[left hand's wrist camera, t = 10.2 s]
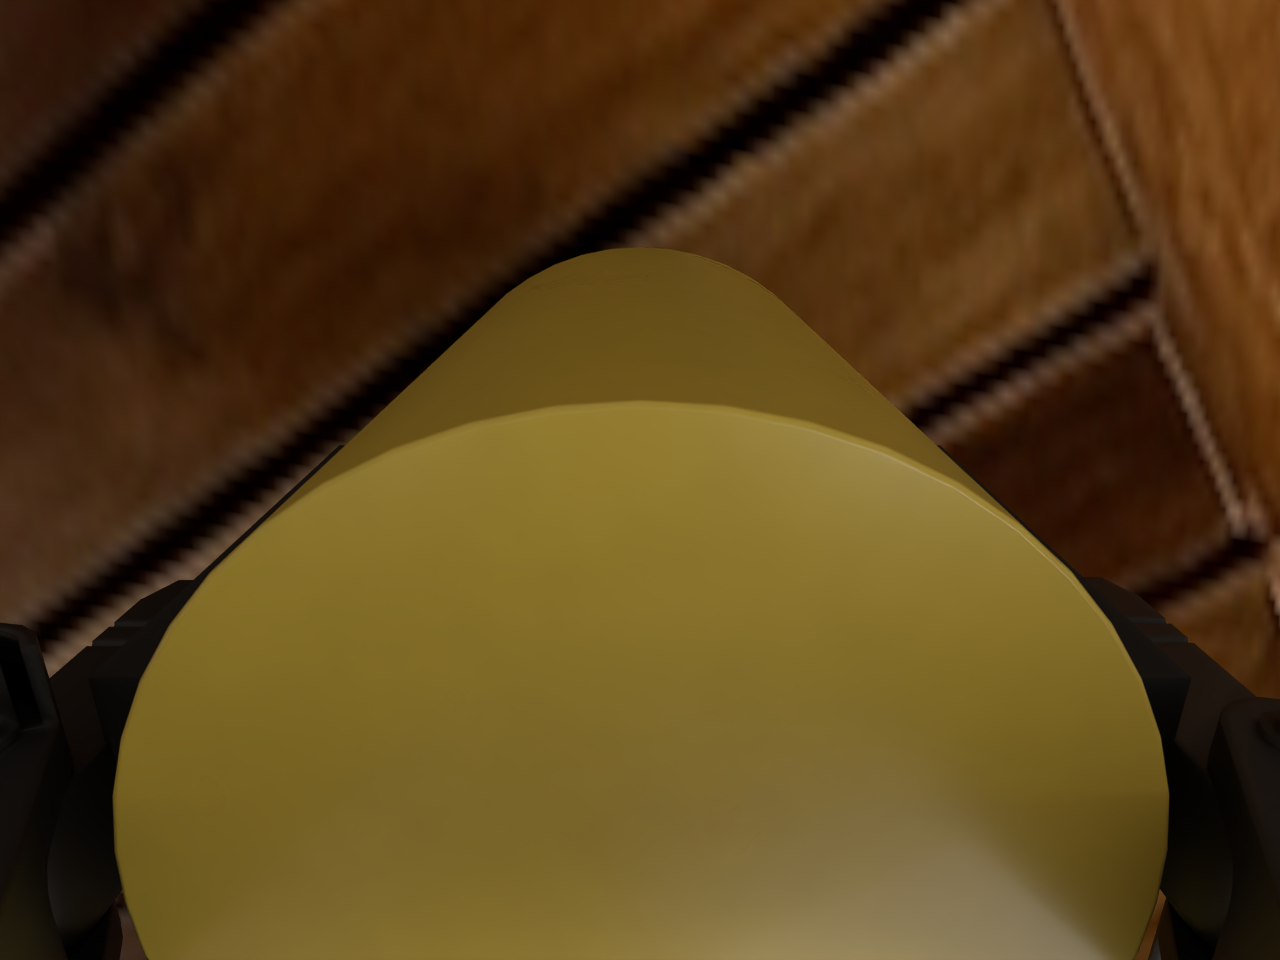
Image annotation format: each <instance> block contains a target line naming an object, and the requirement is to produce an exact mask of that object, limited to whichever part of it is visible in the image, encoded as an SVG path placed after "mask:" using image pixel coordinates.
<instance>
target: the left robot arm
mask: <svg viewBox="0 0 1280 960" xmlns="http://www.w3.org/2000/svg"><path fill="white" fill-rule="evenodd" d="M344 446H345V445H339V446H338V447H337V448H336V449H335V450H334V451H333V452H332V453H331V454H330V455H329V456H327V457H326V458H325V459H324V460H323V461H322V462H321V463H320V464H319V465H318V466H317V467H316V468H314V469H313V470H312V471H311V472H310V473H309V474H308V475H307V476H306V477H305V478H304V479H303V480H301V481H300V482H299V483H298V484H297V485H296V486H295V487H294V488H293V489H292V490H291V491H290V492H288V493H287V494H286V495H285V496H284V497H283V498H282V499H281V500H280V501H279V502H278V503H277V504H275V505H274V506H273V507H272V508H271V509H270V510H269V511H268V512H267V513H266V514H265V515H264V516H262V517H261V518H260V519H259V520H258V521H257V522H256V523H255V524H254V525H253V526H252V527H251V528H249V529H248V530H247V531H246V532H245V533H244V534H243V535H242V536H241V537H240V538H239V539H238V540H237V541H235V542H234V543H233V544H232V545H231V546H230V547H229V548H228V549H227V550H226V551H225V552H224V553H222V554H221V555H220V556H219V557H218V558H217V559H216V560H215V561H214V562H213V563H212V564H211V565H209V566H208V567H207V568H206V569H205V570H204V571H203V572H202V573H201V574H200V575H199V576H198V577H196V578H195V579H194V580H178V581H176V582H174V583H172V584H171V585H169V586H167V587H165V588H163V589H161V590H159V591H157V592H155V593H153V594H151V595H149V596H147V597H145V598H143V599H141V600H140V601H138V602H137V603H136V604H135V605H134V606H133V607H132V608H130V609H129V610H128V611H127V612H126V613H125V614H123V615H122V616H121V617H120V618H119V619H118V620H117V621H115V622H114V623H115V625H114V627H108V628H107V629H106V630H105V631H104V632H103V633H101V634H100V635H99V636H98V637H97V638H96V639H95V640H93V641H92V643H93V644H92V646H86V647H85V648H84V649H83V650H82V651H81V652H79V653H78V654H77V655H76V656H75V657H74V658H73V659H71V660H70V661H69V662H68V663H67V664H66V665H64V666H63V667H62V668H61V669H60V670H59V671H58V672H56V673H55V674H54V675H53V676H52V677H51V678H49V676H48V673H47V670H46V666H45V663H44V659H43V656H42V653H41V649H40V646H39V642H38V639H37V636H36V633H35V632H33V631H32V630H30V629H28V628H26V627H25V626H23V625H16V624H6V623H0V960H119V959H120V952H121V946H122V939H123V935H122V928H121V921H120V917H119V914H118V910H117V907H116V904H115V899H116V897H117V896H118V895H119V893H120V892H121V890H122V885H121V880H120V875H119V870H118V866H117V861H116V856H115V850H114V820H113V791H114V784H115V777H116V770H117V763H118V756H119V749H120V742H121V736H122V733H123V730H124V727H125V724H126V721H127V718H128V715H129V712H130V709H131V706H132V703H133V700H134V697H135V694H136V691H137V688H138V685H139V682H140V679H141V677H142V675H143V674H144V672H145V670H146V668H147V666H148V664H149V662H150V660H151V658H152V657H153V655H154V653H155V651H156V649H157V647H158V645H159V643H160V642H161V640H162V638H163V636H164V634H165V632H166V630H167V628H168V627H169V625H170V624H171V622H172V621H173V620H174V618H175V617H176V616H177V614H178V613H179V612H180V611H181V609H182V608H183V607H184V605H185V604H186V603H187V602H188V600H189V599H190V598H191V596H192V595H193V594H194V592H195V591H196V590H197V589H198V587H199V586H200V585H201V583H202V582H203V581H204V579H205V578H206V577H207V576H208V574H209V573H210V572H211V571H212V570H213V569H214V568H215V567H216V566H217V565H218V564H219V563H221V562H222V561H223V560H224V559H225V558H226V557H227V556H228V555H229V554H230V553H231V552H232V551H233V550H234V549H235V548H237V547H238V546H239V545H240V544H241V543H242V542H243V541H244V540H245V539H246V538H247V537H248V536H249V535H250V534H251V533H252V532H254V531H255V530H256V529H257V528H258V527H259V526H260V525H261V524H262V523H263V522H264V521H265V520H266V519H267V518H268V517H270V516H271V515H272V514H273V513H274V512H275V511H276V510H277V509H278V508H279V507H280V506H281V505H282V504H283V503H284V502H285V501H287V500H288V499H289V498H290V497H291V496H292V495H293V494H294V493H295V492H296V491H297V490H298V489H299V488H300V487H301V486H303V485H304V484H305V483H306V482H307V481H308V480H309V479H310V478H311V477H312V476H313V475H314V474H315V473H316V472H317V471H319V470H320V469H321V468H322V467H323V466H324V465H325V464H326V463H327V462H328V461H329V460H330V459H331V458H332V457H333V456H335V455H336V454H337V453H338V452H339V451H340V450H341V449H342V448H343V447H344ZM936 446H938V447H939V448H940V449H941V450H942V451H943V452H944V453H945V454H946V455H947V456H948V457H949V458H950V459H951V460H953V461H954V462H955V463H956V464H957V465H958V466H959V467H960V468H961V469H962V470H963V471H964V472H965V473H967V474H968V475H969V476H970V477H971V478H972V479H973V480H974V481H975V482H976V483H977V484H978V485H979V486H980V487H982V488H983V489H984V490H985V491H986V492H987V493H988V494H989V495H990V496H991V497H992V498H993V499H994V500H996V501H997V502H998V503H999V504H1000V505H1001V506H1002V507H1003V508H1004V509H1005V510H1006V511H1007V512H1008V513H1009V514H1011V515H1012V516H1013V517H1014V518H1015V519H1016V520H1017V521H1018V522H1019V523H1020V524H1021V525H1022V526H1023V527H1024V528H1026V529H1027V530H1028V531H1029V532H1030V533H1031V534H1032V535H1033V536H1034V537H1035V538H1036V539H1037V540H1038V541H1039V542H1041V543H1042V544H1043V545H1044V546H1045V547H1046V548H1047V549H1048V550H1049V551H1050V552H1051V553H1052V554H1053V555H1054V556H1056V557H1057V558H1058V559H1059V560H1060V561H1061V562H1062V563H1063V564H1064V565H1065V566H1066V567H1067V568H1068V569H1069V570H1070V571H1072V573H1073V574H1074V575H1075V577H1076V578H1077V579H1078V580H1079V582H1080V583H1081V584H1082V586H1083V587H1084V588H1085V589H1086V591H1087V592H1088V593H1089V595H1090V596H1091V597H1092V599H1093V600H1094V601H1095V602H1096V604H1097V605H1098V606H1099V608H1100V609H1101V610H1102V611H1103V613H1104V614H1105V615H1106V617H1107V618H1108V619H1109V620H1110V622H1111V623H1112V625H1113V626H1114V628H1115V630H1116V632H1117V634H1118V636H1119V638H1120V639H1121V641H1122V643H1123V645H1124V647H1125V649H1126V651H1127V652H1128V654H1129V656H1130V658H1131V660H1132V662H1133V664H1134V666H1135V667H1136V669H1137V671H1138V673H1139V675H1140V677H1141V679H1142V681H1143V684H1144V688H1145V691H1146V694H1147V697H1148V700H1149V703H1150V706H1151V709H1152V712H1153V715H1154V718H1155V721H1156V724H1157V727H1158V730H1159V733H1160V736H1161V742H1162V749H1163V756H1164V763H1165V770H1166V776H1167V783H1168V790H1169V817H1168V850H1167V855H1166V860H1165V864H1164V869H1163V874H1162V879H1161V884H1160V889H1161V891H1162V892H1163V894H1164V895H1165V896H1166V900H1165V904H1164V907H1163V910H1162V914H1161V917H1160V920H1159V924H1158V927H1157V931H1156V934H1155V937H1154V941H1153V944H1152V948H1151V951H1150V954H1149V958H1148V960H1280V699H1272V698H1264V697H1256V696H1255V695H1254V694H1252V693H1251V692H1250V691H1249V690H1248V689H1247V688H1245V687H1244V686H1243V685H1242V684H1241V683H1240V682H1238V681H1237V680H1236V679H1235V678H1234V677H1233V676H1231V675H1230V674H1229V673H1228V672H1227V671H1226V670H1224V669H1223V668H1222V667H1221V666H1220V665H1219V664H1217V663H1216V662H1215V661H1214V660H1213V659H1212V658H1210V657H1209V656H1208V655H1207V654H1206V653H1205V652H1203V651H1202V650H1201V649H1200V648H1199V647H1198V646H1196V645H1195V644H1194V643H1188V638H1187V637H1186V636H1185V635H1184V634H1182V633H1181V632H1180V631H1179V630H1178V629H1177V628H1175V627H1174V626H1173V625H1172V624H1166V619H1165V618H1164V617H1163V616H1161V615H1160V614H1159V613H1158V612H1157V611H1156V610H1154V609H1153V608H1152V607H1151V606H1150V605H1149V604H1147V603H1146V602H1145V601H1144V600H1143V599H1142V598H1140V597H1139V596H1137V595H1135V594H1133V593H1131V592H1129V591H1127V590H1125V589H1123V588H1121V587H1119V586H1117V585H1115V584H1113V583H1111V582H1109V581H1107V580H1105V579H1103V578H1101V577H1082V576H1081V575H1080V574H1079V573H1078V572H1076V571H1075V570H1074V569H1073V568H1072V567H1071V566H1070V565H1069V564H1068V563H1067V562H1066V561H1065V560H1063V559H1062V558H1061V557H1060V556H1059V555H1058V554H1057V553H1056V552H1055V551H1054V550H1053V549H1052V548H1050V547H1049V546H1048V545H1047V544H1046V543H1045V542H1044V541H1043V540H1042V539H1041V538H1040V537H1039V536H1037V535H1036V534H1035V533H1034V532H1033V531H1032V530H1031V529H1030V528H1029V527H1028V526H1027V525H1026V524H1024V523H1023V522H1022V521H1021V520H1020V519H1019V518H1018V517H1017V516H1016V515H1015V514H1014V513H1013V512H1011V511H1010V510H1009V509H1008V508H1007V507H1006V506H1005V505H1004V504H1003V503H1002V502H1001V501H1000V500H999V499H997V498H996V497H995V496H994V495H993V494H992V493H991V492H990V491H989V490H988V489H987V488H986V487H984V486H983V485H982V484H981V483H980V482H979V481H978V480H977V479H976V478H975V477H974V476H973V475H971V474H970V473H969V472H968V471H967V470H966V469H965V468H964V467H963V466H962V465H961V464H960V463H958V462H957V461H956V460H955V459H954V458H953V457H952V456H951V455H950V454H949V453H948V452H947V451H945V450H944V449H943V448H942V447H941V446H940V445H936Z"/></svg>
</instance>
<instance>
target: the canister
mask: <svg viewBox="0 0 1280 960" xmlns="http://www.w3.org/2000/svg"><path fill="white" fill-rule="evenodd" d="M1168 817H1169V790H1168V783H1167V776H1166V770H1165V763H1164V756H1163V749H1162V742H1161V736H1160V733H1159V730H1158V727H1157V724H1156V721H1155V718H1154V715H1153V712H1152V709H1151V706H1150V703H1149V700H1148V697H1147V694H1146V691H1145V688H1144V684H1143V681H1142V679H1141V677H1140V675H1139V673H1138V671H1137V669H1136V667H1135V666H1134V664H1133V662H1132V660H1131V658H1130V656H1129V654H1128V652H1127V651H1126V649H1125V647H1124V645H1123V643H1122V641H1121V639H1120V638H1119V636H1118V634H1117V632H1116V630H1115V628H1114V626H1113V625H1112V623H1111V622H1110V620H1109V619H1108V618H1107V617H1106V615H1105V614H1104V613H1103V611H1102V610H1101V609H1100V608H1099V606H1098V605H1097V604H1096V602H1095V601H1094V600H1093V599H1092V597H1091V596H1090V595H1089V593H1088V592H1087V591H1086V589H1085V588H1084V587H1083V586H1082V584H1081V583H1080V582H1079V580H1078V579H1077V578H1076V577H1075V575H1074V574H1073V573H1072V571H1070V570H1069V569H1068V568H1067V567H1066V566H1065V565H1064V564H1063V563H1062V562H1061V561H1060V560H1059V559H1058V558H1057V557H1056V556H1054V555H1053V554H1052V553H1051V552H1050V551H1049V550H1048V549H1047V548H1046V547H1045V546H1044V545H1043V544H1042V543H1041V542H1039V541H1038V540H1037V539H1036V538H1035V537H1034V536H1033V535H1032V534H1031V533H1030V532H1029V531H1028V530H1027V529H1026V528H1024V527H1023V526H1022V525H1021V524H1020V523H1019V522H1018V521H1017V520H1016V519H1015V518H1014V517H1013V516H1012V515H1011V514H1009V513H1008V512H1007V511H1006V510H1005V509H1004V508H1003V507H1002V506H1001V505H1000V504H999V503H998V502H997V501H996V500H994V499H993V498H992V497H991V496H990V495H989V494H988V493H987V492H986V491H985V490H984V489H983V488H982V487H980V486H979V485H978V484H977V483H976V482H975V481H974V480H973V479H972V478H971V477H970V476H969V475H968V474H967V473H965V472H964V471H963V470H962V469H961V468H960V467H959V466H958V465H957V464H956V463H955V462H954V461H953V460H951V459H950V458H949V457H948V456H947V455H946V454H945V453H944V452H943V451H942V450H941V449H940V448H939V447H938V446H936V445H935V444H934V443H933V442H932V441H931V440H930V439H929V438H928V437H927V436H926V435H925V434H924V433H923V432H921V431H920V430H919V429H918V428H917V427H916V426H915V425H914V424H913V423H912V422H911V421H910V420H909V419H907V418H906V417H905V416H904V415H903V414H902V413H901V412H900V411H899V410H898V409H897V408H896V407H895V406H894V405H892V404H891V403H890V402H889V401H888V400H887V399H886V398H885V397H884V396H883V395H882V394H881V393H880V392H879V391H877V390H876V389H875V388H874V387H873V386H872V385H871V384H870V383H869V382H868V381H867V380H866V379H865V378H863V377H862V376H861V375H860V374H859V373H858V372H857V371H856V370H855V369H854V368H853V367H852V366H851V365H850V364H848V363H847V362H846V361H845V360H844V359H843V358H842V357H841V356H840V355H839V354H838V353H837V352H836V351H835V350H833V349H832V348H831V347H830V346H829V345H828V344H827V343H826V342H825V341H824V340H823V339H822V338H821V337H819V336H818V335H817V334H816V333H815V332H814V331H813V330H812V329H811V328H810V327H809V326H808V325H807V324H806V323H804V322H803V321H802V320H801V319H800V318H799V317H798V316H797V315H796V314H795V313H794V312H793V311H792V310H790V309H789V308H788V307H787V306H786V305H785V304H784V303H783V302H782V301H781V300H780V299H779V298H778V297H777V296H775V295H774V294H773V293H772V292H770V291H769V290H768V289H766V288H765V287H763V286H762V285H760V284H759V283H758V282H756V281H755V280H753V279H752V278H750V277H748V276H747V275H745V274H743V273H741V272H739V271H737V270H735V269H733V268H731V267H729V266H727V265H725V264H722V263H720V262H717V261H714V260H711V259H708V258H705V257H702V256H700V255H696V254H691V253H686V252H681V251H677V250H672V249H662V248H647V247H634V248H619V249H609V250H604V251H599V252H594V253H589V254H585V255H581V256H578V257H575V258H572V259H570V260H567V261H564V262H561V263H558V264H555V265H553V266H551V267H550V268H548V269H546V270H544V271H542V272H540V273H538V274H536V275H534V276H532V277H530V278H529V279H527V280H526V281H524V282H523V283H522V284H520V285H519V286H517V287H516V288H514V289H513V290H512V291H510V292H509V293H507V294H506V295H505V296H504V297H503V298H502V299H501V300H500V301H499V302H498V303H496V304H495V305H494V306H493V307H492V308H491V309H490V310H489V311H488V312H487V313H486V314H485V315H484V316H483V317H482V318H480V319H479V320H478V321H477V322H476V323H475V324H474V325H473V326H472V327H471V328H470V329H469V330H468V331H467V332H466V333H465V334H463V335H462V336H461V337H460V338H459V339H458V340H457V341H456V342H455V343H454V344H453V345H452V346H451V347H450V348H449V349H447V350H446V351H445V352H444V353H443V354H442V355H441V356H440V357H439V358H438V359H437V360H436V361H435V362H434V363H433V364H431V365H430V366H429V367H428V368H427V369H426V370H425V371H424V372H423V373H422V374H421V375H420V376H419V377H418V378H417V379H415V380H414V381H413V382H412V383H411V384H410V385H409V386H408V387H407V388H406V389H405V390H404V391H403V392H402V393H401V394H400V395H398V396H397V397H396V398H395V399H394V400H393V401H392V402H391V403H390V404H389V405H388V406H387V407H386V408H385V409H384V410H382V411H381V412H380V413H379V414H378V415H377V416H376V417H375V418H374V419H373V420H372V421H371V422H370V423H369V424H368V425H366V426H365V427H364V428H363V429H362V430H361V431H360V432H359V433H358V434H357V435H356V436H355V437H354V438H353V439H352V440H350V441H349V442H348V443H347V444H346V445H345V446H344V447H343V448H342V449H341V450H340V451H339V452H338V453H337V454H336V455H335V456H333V457H332V458H331V459H330V460H329V461H328V462H327V463H326V464H325V465H324V466H323V467H322V468H321V469H320V470H319V471H317V472H316V473H315V474H314V475H313V476H312V477H311V478H310V479H309V480H308V481H307V482H306V483H305V484H304V485H303V486H301V487H300V488H299V489H298V490H297V491H296V492H295V493H294V494H293V495H292V496H291V497H290V498H289V499H288V500H287V501H285V502H284V503H283V504H282V505H281V506H280V507H279V508H278V509H277V510H276V511H275V512H274V513H273V514H272V515H271V516H270V517H268V518H267V519H266V520H265V521H264V522H263V523H262V524H261V525H260V526H259V527H258V528H257V529H256V530H255V531H254V532H252V533H251V534H250V535H249V536H248V537H247V538H246V539H245V540H244V541H243V542H242V543H241V544H240V545H239V546H238V547H237V548H235V549H234V550H233V551H232V552H231V553H230V554H229V555H228V556H227V557H226V558H225V559H224V560H223V561H222V562H221V563H219V564H218V565H217V566H216V567H215V568H214V569H213V570H212V571H211V572H210V573H209V574H208V576H207V577H206V578H205V579H204V581H203V582H202V583H201V585H200V586H199V587H198V589H197V590H196V591H195V592H194V594H193V595H192V596H191V598H190V599H189V600H188V602H187V603H186V604H185V605H184V607H183V608H182V609H181V611H180V612H179V613H178V614H177V616H176V617H175V618H174V620H173V621H172V622H171V624H170V625H169V627H168V628H167V630H166V632H165V634H164V636H163V638H162V640H161V642H160V643H159V645H158V647H157V649H156V651H155V653H154V655H153V657H152V658H151V660H150V662H149V664H148V666H147V668H146V670H145V672H144V674H143V675H142V677H141V679H140V682H139V685H138V688H137V691H136V694H135V697H134V700H133V703H132V706H131V709H130V712H129V715H128V718H127V721H126V724H125V727H124V730H123V733H122V736H121V742H120V749H119V756H118V763H117V770H116V777H115V784H114V791H113V820H114V850H115V856H116V861H117V866H118V870H119V875H120V880H121V885H122V890H123V895H124V900H125V904H126V907H127V909H128V912H129V915H130V917H131V920H132V923H133V925H134V928H135V931H136V933H137V936H138V939H139V941H140V944H141V946H142V949H143V952H144V954H145V956H146V957H147V959H148V960H1134V959H1135V957H1136V955H1137V953H1138V951H1139V949H1140V946H1141V943H1142V941H1143V938H1144V935H1145V933H1146V930H1147V927H1148V925H1149V922H1150V919H1151V917H1152V914H1153V911H1154V909H1155V906H1156V903H1157V899H1158V894H1159V889H1160V884H1161V879H1162V874H1163V869H1164V864H1165V860H1166V855H1167V850H1168Z"/></svg>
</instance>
